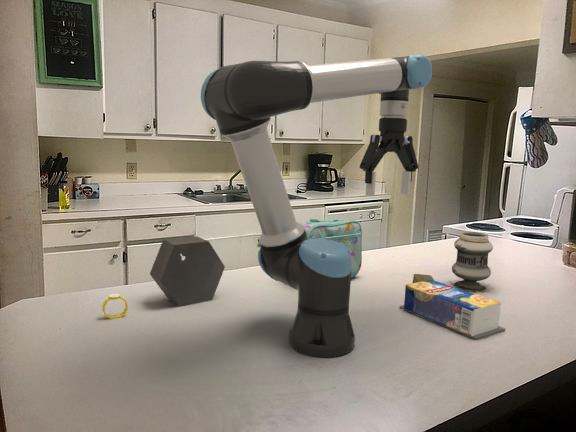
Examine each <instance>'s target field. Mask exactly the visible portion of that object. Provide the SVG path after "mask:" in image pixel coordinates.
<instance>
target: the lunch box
mask: <svg viewBox="0 0 576 432" xmlns="http://www.w3.org/2000/svg"><path fill="white" fill-rule="evenodd" d="M300 224H302V225H303V226H304V228H305V231H306V234H307V237H308V239H327V240H329V241H330V240H332V241H336V242H338V243H341V244H343V245H344V246H346V247H347V248H348V249H349V250H350V253H351V264H352V271H351V279H352V278H355V277H356V276H357V275H358V274H359V272H360V270H361V267H362V262H363V261H362V259H363V257H362V253H363V252H362V249H363V248H362V246H363V245H362V238H363V234H362V233H363V230H362V225H361V224H360V222H358V221H356V220H354V219H353V220H345V219H339V218H329V219H319V220H318V219H317V218H309V221H304V222H300Z"/></svg>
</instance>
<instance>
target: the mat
mask: <svg viewBox="0 0 576 432" xmlns="http://www.w3.org/2000/svg"><path fill="white" fill-rule="evenodd" d="M399 309H401V310H404V311H406V312H408V313H411V314H413V315H415V316H418V317H420V318H422V319H425V320H427V321H429V322H432V323H433V324H437V325H439V326H441V327H444V328H446V329H448V330H451V331H453V332H456V333H458V334H460V335H463V336H464V337H468V338H470V339H472V340H474V341H477V340H480V339H485V338H487V337H490V336H494V335H496V334H500V333H503V332H505V331H506V328H505V327H502V326H499V325H498V328H497V329H494V330H491V331H487V332H484V333H481V334H478V335H474V336H469V335H467V334H464V333H462V332H459V331H457V330H455V329H452V328H450V327H447V326H445V325H443V324H440V323H438V322H435V321H433V320H431V319H428V318H426V317H424V316H421V315H419V314H416V313H414V312H412V311H409V310H407V309H404V304H402V305H399Z"/></svg>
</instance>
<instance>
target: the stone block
mask: <svg viewBox="0 0 576 432" xmlns="http://www.w3.org/2000/svg"><path fill="white" fill-rule="evenodd" d="M428 280H434V281H435V279H434V277H433V276H432V275H430V274H420V273H414V274H413V279H412V283H417V282H422V281H428Z"/></svg>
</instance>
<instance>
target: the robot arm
mask: <svg viewBox="0 0 576 432" xmlns="http://www.w3.org/2000/svg"><path fill="white" fill-rule="evenodd" d="M432 77H433V63H432V61H431V59H430V58H429V57H428V56H427V55H424V54H410V55H407V56H396V57H388V58H387V57H384V58H383V57H382V58H374V59H363V60H352V61H342V62H341V61H340V62H339V61H338V62H329V63H319V64H308V65H307V64H306V63H305V62H303V61H300V60H294V61H292V60H291V61H276V60H275V61H273V60H271V61H270V60H249V61H244V62H241V63H240V62H239V63H236V64H229V65H225V66H224V65H223V66H221V67H219V68H217V69H214V70H213V71H211V72H210V73H209V74H208V75H207V76H206V78H205V79H204V81H203V84H202V85H201V89H200V102H201V106H202V108H203V110H204V111H205V113H206V114H207V115H208V116H209V117H210V118H211V119H213V120H215V123H216V125H217V127H218V130H219V133H220V135H221V136H222V137H223V138H225V139H227V140H228V141H230V143H231V146H232V148H233V153H234V155H235V158H236V160H237V162H238V165H239V169H240V172H241V175H242V177H243V180H244V183H245V187H246V189H247V192H248V194H249V197H250V201H251V203H252V204H251V205H252V207H253V210H254V211H255V215H256V218H257V221H258V223H259V227H260V229H261V232H262V233H261V235H260V236H259V238H258V243H259V250H258V253H257V258H258V260H257V261H258V263H259V266H260V268H261V269H262V271H263V272H264V273H265V274H266V275H267V276H268V277H270V278H271V279H272V280H274V281H276V282H280V283H281V284H284V285H285V286H287V287H290V288H292V289H295V290H297V291H298V295H297V310H296V314H295V315H294V319H293V322H292V325H291V327H290V329H289V333H288V344H289V345H290V347H291V348H292V349H293V350H295V351H297V352H298V353H300V354H301V353H302V354H304V355H308V356H312V357H317V358H318V357H319V358H331V357H333V358H334V357H340V356H344V355H346V354H349V353H351V352H352V351H353V350H354V349H355V341H356V339H355V338H356V336H355V332H354V328H353V325H352V324H353V323H352V320H351V317H350V313H349V312H350V310H349V309H350V296H351V295H350V294H351V283H352V278H351V271H352V264H351V253H350V250H349V249H348V248H347V247H346V246H344V245H343V244H341V243H338V242H336V241H332V240H330V241H329V240H327V239H308V237H307V234H306V231H305V228H304V226H303V225H302V224H301V222H298V221H296V217H295V214H294V211H293V208H292V204H291V201H290V198H289V195H288V192H287V189H286V185H285V183H284V179H283V176H282V173H281V170H280V167H279V163H278V161H277V157H276V154H275V150H274V148H273V145H272V141H271V138H270V135H269V131H268V126H269V124H270V122H271V121H272V119H271V118H272V117H275V116H279V115H282V114H286V113H290V112H295V111H301V110H306V109H307V108H308V107H309V106H310V105H311V104H313V103H320V102H327V101H328V102H329V101H333V100H341V99H347V98H348V99H349V98H355V97H361V96H368V95H375V94H379V95H380V100H379V101H380V104H379V116H380V119H379V120H378V122H379V123H378V132H379V133H380V134H371V135H370V138H369V144H368V146H367V149H366V151H365V152H364V155H363V157H362V159H361V162H360V164H359V169H361V170H362V171H363V172H364V173H365V174H364V175H365V177H364V183H365V196H368V197H375V193H376V179H377V177H376V176H377V174H376V173H377V172H376V171H375V170H376V169H377V166H378V165H379V164H380V162H381V161H382V159H383V158H384V156H385V155H386V154H388V153H395V154H396V155H397V157H398V159H399V161H400V163H401V165H402V167H403V169H404V170H402V172H401V186H400V187H401V189H400V194H401V195H402V194H403V195H410V194H411V183H412V181H413V172H416V170H418V169H419V164H418V159H417V155H416V152H415V148H414V145H413V136H411V135H409V136H408V135H405V133H406V132H407V130H408V120H407V118H406V117H407V116H408V112H409V96H410V90H417V89H422V88H425V87H426V86H428V85H429V83H430V82H431V79H432Z"/></svg>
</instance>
